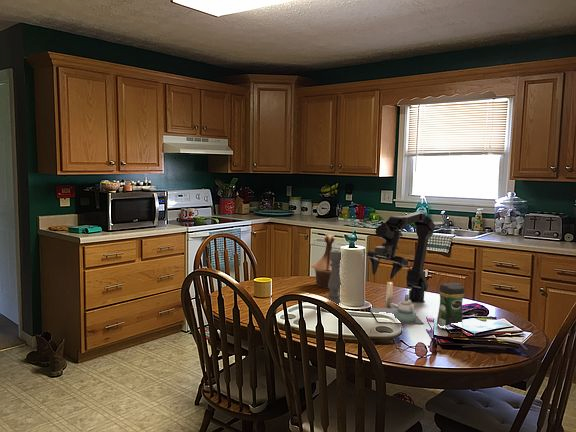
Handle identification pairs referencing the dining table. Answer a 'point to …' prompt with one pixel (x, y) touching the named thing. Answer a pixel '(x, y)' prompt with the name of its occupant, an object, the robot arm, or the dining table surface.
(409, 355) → the dining table surface
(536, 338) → the dining table surface
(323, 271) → the brown tall piece
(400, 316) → the teal round piece
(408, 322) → the mat
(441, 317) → the coffee jar
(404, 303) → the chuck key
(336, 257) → the candle holder
